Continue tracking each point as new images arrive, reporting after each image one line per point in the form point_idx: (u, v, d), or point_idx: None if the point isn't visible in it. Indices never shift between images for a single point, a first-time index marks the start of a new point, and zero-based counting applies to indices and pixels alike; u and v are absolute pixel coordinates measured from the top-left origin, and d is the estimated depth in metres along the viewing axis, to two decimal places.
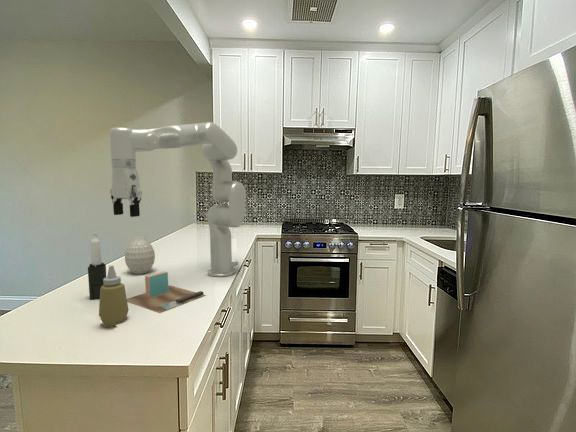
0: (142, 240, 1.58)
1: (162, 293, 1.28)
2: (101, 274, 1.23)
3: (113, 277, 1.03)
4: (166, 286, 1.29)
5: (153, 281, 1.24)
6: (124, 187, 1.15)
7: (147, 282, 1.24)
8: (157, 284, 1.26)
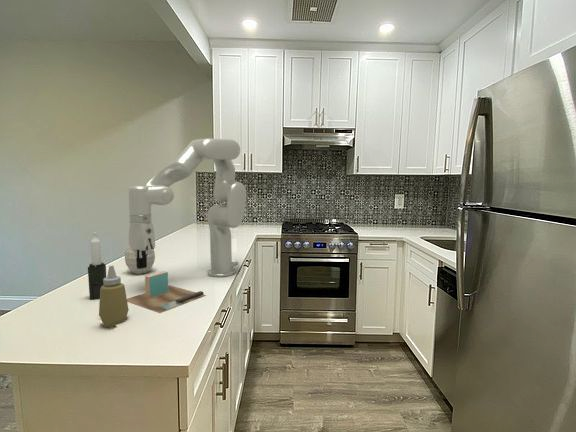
0: None
1: (162, 293, 1.28)
2: (101, 274, 1.23)
3: (113, 277, 1.03)
4: (166, 286, 1.29)
5: (153, 281, 1.24)
6: (140, 240, 1.26)
7: (147, 282, 1.24)
8: (157, 284, 1.26)
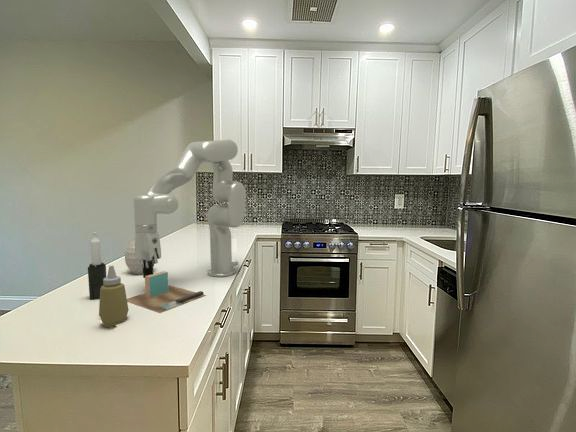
0: None
1: (162, 293, 1.28)
2: (101, 274, 1.23)
3: (113, 277, 1.03)
4: (166, 286, 1.29)
5: (153, 281, 1.24)
6: (147, 250, 1.25)
7: (147, 282, 1.24)
8: (157, 284, 1.26)
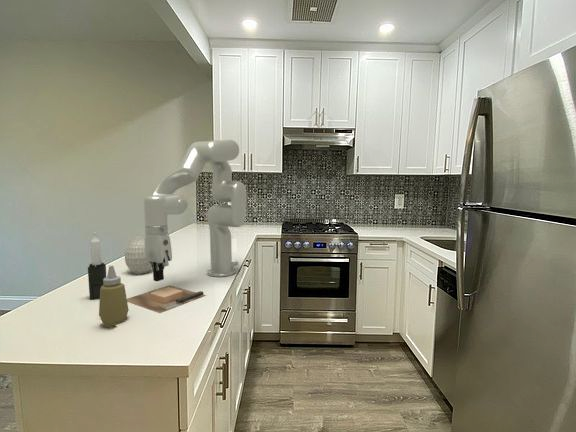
0: (142, 240, 1.58)
1: None
2: (101, 274, 1.23)
3: (113, 277, 1.03)
4: None
5: None
6: (157, 252, 1.21)
7: (160, 299, 1.20)
8: None
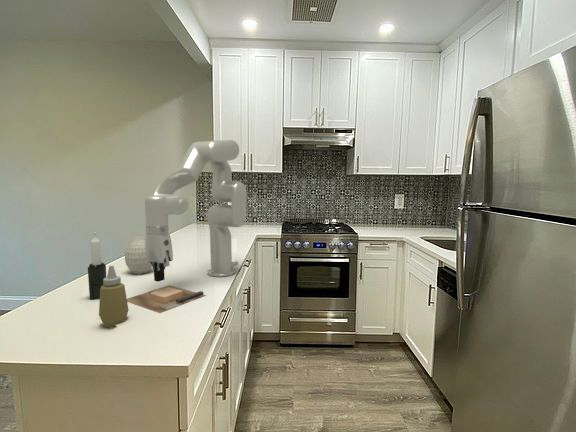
0: (142, 240, 1.58)
1: None
2: (101, 274, 1.23)
3: (113, 277, 1.03)
4: None
5: None
6: (158, 253, 1.21)
7: (160, 299, 1.20)
8: None
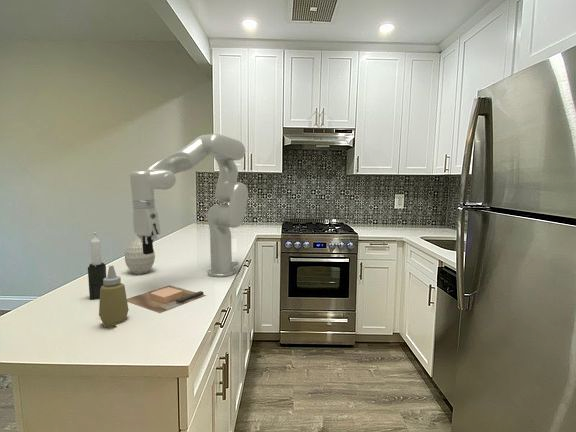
0: None
1: None
2: (101, 274, 1.23)
3: (113, 277, 1.03)
4: None
5: None
6: (145, 226, 1.25)
7: (160, 299, 1.20)
8: None
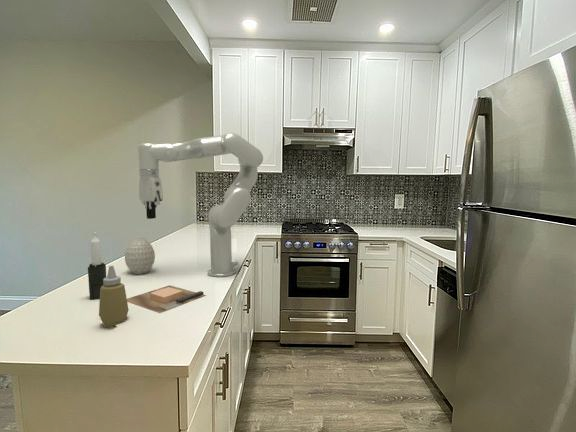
0: (142, 240, 1.58)
1: None
2: (101, 274, 1.23)
3: (113, 277, 1.03)
4: None
5: None
6: (150, 192, 1.40)
7: (160, 299, 1.20)
8: None
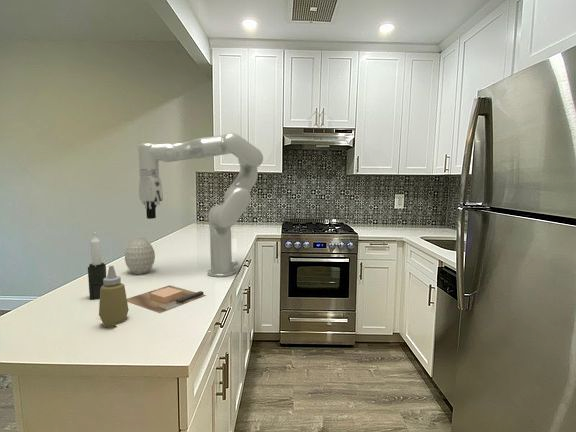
0: (142, 240, 1.58)
1: None
2: (101, 274, 1.23)
3: (113, 277, 1.03)
4: None
5: None
6: (150, 192, 1.40)
7: (160, 299, 1.20)
8: None
